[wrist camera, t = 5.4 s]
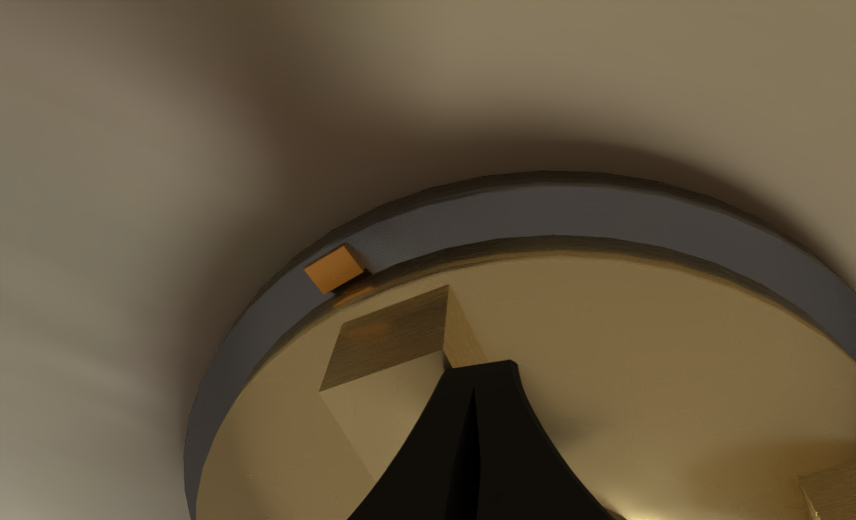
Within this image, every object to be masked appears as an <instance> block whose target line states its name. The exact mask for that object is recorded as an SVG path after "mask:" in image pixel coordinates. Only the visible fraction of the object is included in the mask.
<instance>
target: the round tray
mask: <svg viewBox="0 0 856 520" xmlns="http://www.w3.org/2000/svg"><path fill="white" fill-rule="evenodd" d="M509 359H511V360H512V361H514V362H516V363H517V364H518V368H519V372H520V377H521V382H522V386H523V389H524V391H525V394H526V396H527V398H528V400H529V403H530V405H531V407H532V409H533V411H534V412H535V414H536V416H537V418H538V419H539V421H540V423H541V425H542V426H543V428H544V430H545V432H546V433H547V435H548V436H549V438H550V440H551V441H552V443H553V444H554V446H555V447H556V448H557V450H558V451H559V453H560V454H561V456H562V457H563V459H564V460H565V461H566V463H567V464H568V465H569V467H570V468H571V469H572V471H573V472H574V473H575V475H576V476H577V477H578V478H579V480H580V481H581V482H582V483H583V484H584V486H585V487H586V488H587V489H588V490H589V492H590V493H591V494H592V495H593V496H594V497H595V498H596V499H597V501H598V502H599V503H600V504H601V505H602V506H603V507H604V508H605V509H606V511H607V512H608V513H609V514H610V515H611V516H612V517H613V518H615V519H616V520H856V361H855V360H854V359H853V358H852V357H851V355H850V354H849V353H848V352H847V351H846V350H845V348H844V347H843V346H842V345H841V344H840V342H839V341H838V340H837V339H836V338H835V337H833V336H832V335H831V334H830V333H829V332H828V331H827V330H825V329H824V328H823V327H822V326H821V325H820V324H819V323H817V322H816V321H815V320H814V319H813V318H812V317H811V316H809V315H808V314H807V313H806V312H805V311H804V310H802V309H801V308H799V307H798V306H796V305H794V304H793V303H791V302H790V301H788V300H787V299H785V298H783V297H782V296H780V295H779V294H777V293H776V292H774V291H772V290H771V289H769V288H768V287H766V286H765V285H763V284H761V283H759V282H757V281H755V280H752V279H750V278H748V277H746V276H744V275H741V274H739V273H737V272H735V271H733V270H730V269H728V268H726V267H724V266H722V265H719V264H717V263H715V262H712V261H708V260H705V259H702V258H698V257H695V256H692V255H689V254H685V253H682V252H679V251H676V250H672V249H669V248H666V247H661V246H655V245H650V244H644V243H638V242H632V241H627V240H621V239H615V238H609V237H590V236H571V235H541V236H526V237H511V238H498V239H492V240H487V241H482V242H476V243H471V244H465V245H460V246H455V247H449V248H445V249H442V250H438V251H435V252H432V253H429V254H426V255H423V256H419V257H416V258H413V259H410V260H407V261H404V262H400V263H397V264H395V265H393V266H390V267H388V268H386V269H384V270H382V271H380V272H377V273H375V274H373V275H371V276H369V277H367V278H364V279H362V280H360V281H358V282H356V283H354V284H351V285H350V286H348V287H347V288H345V289H343V290H342V291H340V292H339V293H337V294H336V295H334V296H332V297H331V298H329V299H328V300H326V301H325V302H323V303H321V304H320V305H318V306H317V307H315V308H314V309H312V310H311V311H310V312H309V313H307V314H306V315H305V316H304V317H303V318H302V319H300V320H299V321H298V322H297V323H296V324H295V325H293V326H292V327H291V328H290V329H289V330H288V331H286V332H285V333H284V334H283V335H282V336H281V337H279V339H278V340H277V341H276V342H275V343H274V344H273V346H272V347H271V348H270V349H269V350H268V351H267V353H266V354H265V355H264V356H263V357H262V358H261V360H260V361H259V362H258V363H257V364H256V365H255V367H254V368H253V369H252V371H251V373H250V374H249V376H248V378H247V379H246V381H245V383H244V384H243V386H242V388H241V389H240V391H239V392H238V394H237V396H236V397H235V399H234V401H233V403H232V405H231V407H230V409H229V410H228V412H227V414H226V416H225V418H224V420H223V422H222V424H221V426H220V428H219V430H218V432H217V434H216V436H215V438H214V441H213V443H212V446H211V448H210V451H209V454H208V456H207V459H206V461H205V464H204V466H203V469H202V475H201V480H200V485H199V490H198V496H197V501H196V520H347V519H348V518H349V517H350V515H351V514H352V513H353V512H354V511H355V509H356V508H357V507H358V506H359V505H360V503H361V502H362V501H363V500H364V499H365V497H366V496H367V495H368V493H369V492H370V491H371V490H372V488H373V487H374V486H375V484H376V483H377V482H378V480H379V479H380V478H381V476H382V475H383V473H384V472H385V470H386V469H387V467H388V466H389V464H390V463H391V461H392V460H393V459H394V457H395V456H396V454H397V453H398V451H399V450H400V448H401V447H402V445H403V444H404V442H405V440H406V439H407V437H408V435H409V434H410V432H411V430H412V429H413V427H414V425H415V424H416V422H417V420H418V419H419V417H420V415H421V413H422V411H423V410H424V408H425V406H426V404H427V402H428V400H429V399H430V397H431V395H432V393H433V391H434V389H435V387H436V385H437V383H438V381H439V379H440V377H441V375H442V374H443V373H444V371H445V370H446V369H450V368H457V367H464V366H470V365H477V364H483V363H490V362H496V361H503V360H509Z"/></svg>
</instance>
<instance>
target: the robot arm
mask: <svg viewBox="0 0 856 520" xmlns="http://www.w3.org/2000/svg"><path fill="white" fill-rule="evenodd" d="M347 520H616V519H615V518H613V517H612V516H611V515H610V514H609V513H608V512H607V511H606V509H605V508H604V507H603V506H602V505H601V504H600V503H599V502H598V501H597V499H596V498H595V497H594V496H593V495H592V494H591V493H590V492H589V490H588V489H587V488H586V487H585V486H584V484H583V483H582V482H581V481H580V480H579V478H578V477H577V476H576V475H575V473H574V472H573V471H572V469H571V468H570V467H569V465H568V464H567V463H566V461H565V460H564V459H563V457H562V456H561V454H560V453H559V451H558V450H557V448H556V447H555V446H554V444H553V443H552V441H551V440H550V438H549V436H548V435H547V433H546V432H545V430H544V428H543V426H542V425H541V423H540V421H539V419H538V418H537V416H536V414H535V412H534V411H533V409H532V407H531V405H530V403H529V400H528V398H527V396H526V394H525V391H524V389H523V386H522V382H521V377H520V372H519V368H518V364H517V363H516V362H514V361H512V360H511V359H509V360H503V361H496V362H490V363H483V364H477V365H470V366H464V367H457V368H450V369H446V370H445V371H444V373H443V374H442V375H441V377H440V379H439V381H438V383H437V385H436V387H435V389H434V391H433V393H432V395H431V397H430V399H429V400H428V402H427V404H426V406H425V408H424V410H423V411H422V413H421V415H420V417H419V419H418V420H417V422H416V424H415V425H414V427H413V429H412V430H411V432H410V434H409V435H408V437H407V439H406V440H405V442H404V444H403V445H402V447H401V448H400V450H399V451H398V453H397V454H396V456H395V457H394V459H393V460H392V461H391V463H390V464H389V466H388V467H387V469H386V470H385V472H384V473H383V475H382V476H381V478H380V479H379V480H378V482H377V483H376V484H375V486H374V487H373V488H372V490H371V491H370V492H369V493H368V495H367V496H366V497H365V499H364V500H363V501H362V502H361V503H360V505H359V506H358V507H357V508H356V509H355V511H354V512H353V513H352V514H351V515H350V517H349V518H348V519H347Z"/></svg>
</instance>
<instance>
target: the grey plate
mask: <svg viewBox="0 0 856 520" xmlns="http://www.w3.org/2000/svg"><path fill="white" fill-rule="evenodd" d="M541 235H571V236H590V237H609V238H615V239H621V240H627V241H632V242H638V243H644V244H650V245H655V246H661V247H666V248H669V249H672V250H676V251H679V252H682V253H685V254H689V255H692V256H695V257H698V258H702V259H705V260H708V261H712V262H715V263H717V264H719V265H722V266H724V267H726V268H728V269H730V270H733V271H735V272H737V273H739V274H741V275H744V276H746V277H748V278H750V279H752V280H755V281H757V282H759V283H761V284H763V285H765V286H766V287H768V288H769V289H771V290H772V291H774V292H776V293H777V294H779V295H780V296H782V297H783V298H785V299H787V300H788V301H790V302H791V303H793V304H794V305H796V306H798V307H799V308H801V309H802V310H804V311H805V312H806V313H807V314H808V315H809V316H811V317H812V318H813V319H814V320H815V321H816V322H817V323H819V324H820V325H821V326H822V327H823V328H824V329H825V330H827V331H828V332H829V333H830V334H831V335H832V336H833V337H835V338H836V339H837V340H838V341H839V342H840V344H841V345H842V346H843V347H844V348H845V350H846V351H847V352H848V353H849V354H850V355H851V357H852V358H853V359H854V360H855V361H856V293H855V292H854V291H853V290H852V289H851V288H850V287H849V286H848V285H847V284H846V283H845V282H844V281H843V280H842V279H841V278H840V277H839V276H838V275H836V274H835V273H834V272H833V271H832V270H831V269H830V268H828V267H827V266H826V265H825V264H824V263H823V262H821V261H820V260H819V259H818V258H817V257H816V256H815V255H813V254H812V253H811V252H810V251H809V250H808V249H807V248H805V247H804V246H802V245H801V244H799V243H798V242H796V241H795V240H793V239H791V238H790V237H788V236H787V235H785V234H783V233H782V232H780V231H779V230H777V229H775V228H774V227H772V226H771V225H769V224H768V223H766V222H764V221H763V220H761V219H759V218H757V217H755V216H752V215H750V214H748V213H746V212H743V211H741V210H739V209H737V208H734V207H732V206H730V205H728V204H725V203H723V202H721V201H719V200H716V199H714V198H712V197H709V196H705V195H702V194H698V193H695V192H691V191H688V190H685V189H681V188H678V187H674V186H671V185H667V184H664V183H661V182H657V181H651V180H644V179H638V178H632V177H625V176H619V175H612V174H606V173H597V172H564V171H535V172H524V173H514V174H503V175H492V176H483V177H479V178H474V179H470V180H465V181H461V182H456V183H451V184H447V185H442V186H438V187H433V188H429V189H426V190H423V191H421V192H418V193H415V194H412V195H410V196H407V197H404V198H401V199H398V200H396V201H393V202H390V203H387V204H384V205H382V206H379V207H377V208H375V209H373V210H371V211H369V212H367V213H365V214H363V215H361V216H359V217H357V218H355V219H354V220H352V221H350V222H348V223H346V224H344V225H342V226H340V227H338V228H336V229H334V230H332V231H331V232H330V233H328V234H327V235H325V236H324V237H322V238H321V239H320V240H318V241H317V242H315V243H314V244H313V245H311V246H310V247H308V248H307V249H305V250H304V251H303V252H301V253H300V254H298V255H297V256H296V257H294V258H293V259H292V260H291V261H290V262H289V263H288V264H287V265H286V266H284V267H283V268H282V269H281V270H280V271H279V272H278V273H277V274H276V275H275V276H274V277H273V278H272V279H271V280H270V281H269V282H268V283H267V284H266V285H264V286H263V287H262V288H261V289H260V291H259V292H258V293H257V295H256V296H255V297H254V298H253V300H252V301H251V302H250V304H249V305H248V306H247V308H246V309H245V310H244V311H243V313H242V314H241V315H240V317H239V318H238V319H237V321H236V322H235V323H234V325H233V327H232V328H231V330H230V331H229V333H228V335H227V336H226V338H225V340H224V341H223V343H222V344H221V346H220V348H219V350H218V352H217V353H216V355H215V357H214V359H213V361H212V363H211V365H210V366H209V368H208V370H207V372H206V374H205V376H204V378H203V379H202V381H201V384H200V387H199V390H198V393H197V396H196V399H195V402H194V405H193V408H192V411H191V414H190V417H189V422H188V429H187V436H186V443H185V449H184V479H185V493H186V498H187V503H188V508H189V513H190V518H191V520H196V501H197V496H198V490H199V485H200V480H201V475H202V469H203V466H204V464H205V461H206V459H207V456H208V454H209V451H210V448H211V446H212V443H213V441H214V438H215V436H216V434H217V432H218V430H219V428H220V426H221V424H222V422H223V420H224V418H225V416H226V414H227V412H228V410H229V409H230V407H231V405H232V403H233V401H234V399H235V397H236V396H237V394H238V392H239V391H240V389H241V388H242V386H243V384H244V383H245V381H246V379H247V378H248V376H249V374H250V373H251V371H252V369H253V368H254V367H255V365H256V364H257V363H258V362H259V361H260V360H261V358H262V357H263V356H264V355H265V354H266V353H267V351H268V350H269V349H270V348H271V347H272V346H273V344H274V343H275V342H276V341H277V340H278V339H279V337H281V336H282V335H283V334H284V333H285V332H286V331H288V330H289V329H290V328H291V327H292V326H293V325H295V324H296V323H297V322H298V321H299V320H300V319H302V318H303V317H304V316H305V315H306V314H307V313H309V312H310V311H311V310H312V309H314V308H315V307H317V306H318V305H320V304H321V303H323V302H325V301H326V300H328V299H329V298H331V297H332V296H334V295H336V294H337V293H339V292H340V291H342V290H343V289H345V288H347V287H348V286H350V285H351V284H354V283H356V282H358V281H360V280H362V279H364V278H367V277H369V276H371V275H373V274H375V273H377V272H380V271H382V270H384V269H386V268H388V267H390V266H393V265H395V264H397V263H400V262H404V261H407V260H410V259H413V258H416V257H419V256H423V255H426V254H429V253H432V252H435V251H438V250H442V249H445V248H449V247H455V246H460V245H465V244H471V243H476V242H482V241H487V240H492V239H498V238H511V237H526V236H541Z"/></svg>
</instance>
